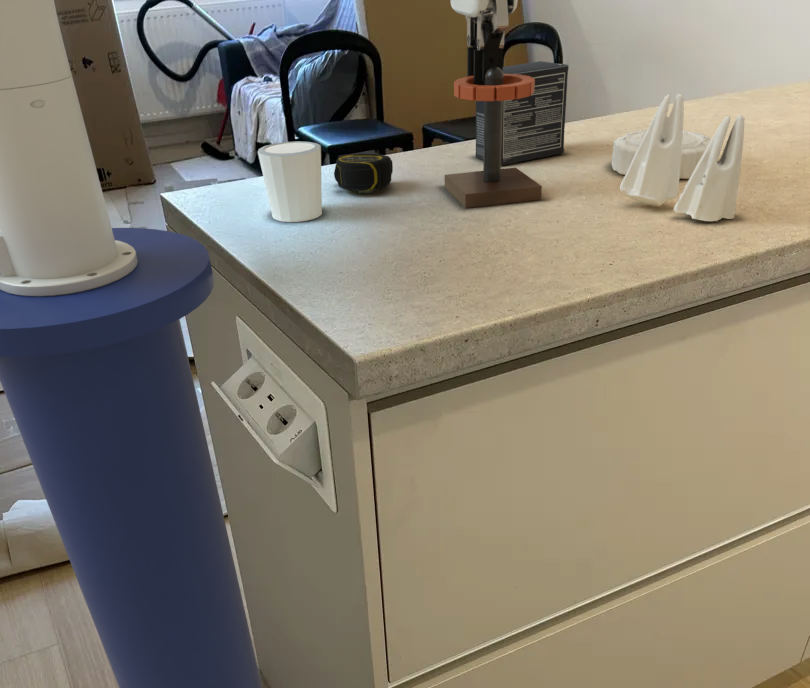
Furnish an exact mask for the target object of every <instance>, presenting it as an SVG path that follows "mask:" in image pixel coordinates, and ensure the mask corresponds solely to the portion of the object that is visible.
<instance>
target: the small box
mask: <svg viewBox="0 0 810 688" xmlns="http://www.w3.org/2000/svg"><path fill="white" fill-rule="evenodd" d="M569 69H570V68H569V64H565V63H558V62H556V63H555V62H550V61H543V60H542V61H541V60H540V61H539V60H538V61H534V62H526V63H519V64H514V65H507V66H503V74H511V75H512V74H519V75H527V76H530V77H532V78H534V79H535V88H534V93H533V94H532V95H531V96H529V97H524V98H520V99H514V100H504V101H503V112H502V144H501V167H502V166H507V165H512V164H516V163H517V164H518V163H522V162H526V161H532V160H536V159H542V158H545V157H552V156H556V155H562V154H564V152H565V127H566V109H567V94H568V93H567V92H568V78H569ZM484 109H485V101H476V100H475V158H477V159H480V160H481V161H484Z"/></svg>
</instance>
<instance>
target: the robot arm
mask: <svg viewBox="0 0 810 688" xmlns="http://www.w3.org/2000/svg"><path fill="white" fill-rule="evenodd" d="M518 1H519V0H449V2H450V6H451V8H452V10H453V11H454V12H455V13H457V14H459V15H463V16H464V17H465V20H466V45H467V48H466V50H467V51H466V52H467V53H466V55H467V57H466V64H467V66H466V77H468V76H474V80H473V84H474V85H485V75H486V72H487V71H488V69H490V68H491V67H498V68H500V69H501V70H502V72H503V67H504V47H505V31H506V30H507V29H508V27H509V21H510V20H509V16H510V15H512V14H513V13H514V12H515V10H516V9H517V7H518ZM87 131H88V130H87V128H86V124H85V120H84V116H83V113H82V108H81V105H80V100H79V97H78V93H77V89H76V86H75V82H74V78H73V74H72V70H71V67H70V62H69V59H68V55H67V51H66V47H65V44H64V39H63V34H62V32H61V26H60V22H59V17H58V13H57V9H56V3H55V0H0V290H2V291H5V292H7V293H10V294H14V295H19V296H29V297H45V296H59V295H67V294H73V293H78V292H83V291H88V290H92V289H96V288H99V287H102V286H105V285H108V284H110V283H113V282H115V281H118V280H120V279H121V278H123V277H125V276H127V275H128V274H129V273H131V272H132V271H133V270H134V269H135V267H136V266H137V263H138V260H137V255H136V251H135V249H134V248H133V247H132V246H130V245H129V244H127V243H124V242H121V241H117V240H115V239H114V235H113V231H112V228H113V227H112V224H111V221H110V217H109V216H110V215H109V213H108V208H107V205H106V201H105V196H104V193H103V189H102V185H101V181H100V179H99V173H98V170H97V166H96V163H95V162H96V161H95V158H94V155H93V154H94V153H93V150H92V146H91V143H90V139H89V135H88V132H87Z"/></svg>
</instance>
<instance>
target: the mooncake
mask: <svg viewBox="0 0 810 688" xmlns="http://www.w3.org/2000/svg"><path fill="white" fill-rule="evenodd" d="M646 131H647V129H641V130H640V129H638V130H635V131H632V132H626V134H624V135H621V136H618V137H617V138H616V139H615V140H614V141H613V147H612V156H611V162H610V163H611V168H612V170H613V171H614V172H617V173H618V174H619V175H623V176H625V175H626V173H627V170H628V168H629V166H630V164H631V162H632V160H633V158H634V156H635V154H636V151H637V149H638V147H639V145H640V143H641V141H642V139H643V137H644V135H645V133H646ZM711 139H712V137H710V136H708V135H704V133H701V132H693V131H688V130H684V129H683V138H682V153H681V166H680V176H679V180H689V179H690V177H691V175H692V173H693V171H694V170H695V168H696V166H697V164H698V162H699V161H700V159H701V157H702V155H703V153H704V152H705V150H706V148H707V146H708V144H709V143H710V141H711Z"/></svg>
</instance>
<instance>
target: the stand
mask: <svg viewBox="0 0 810 688" xmlns="http://www.w3.org/2000/svg"><path fill="white" fill-rule="evenodd" d="M503 80H504V75H503V72H502V70H501V69H500V68H498V67H491V68H490V69H488V71H487V72H486V75H485V85H503ZM502 112H503V101H496V100H494V101H485V109H484V160H483V162H482V163H483V165H482V167H483V170H478V171H477V170H476V171H467V172H459V173H449V174H448V173H447V174H444V189H445V190H446V191H447V192H448V193H450V195H451V196H452V197H453V198H455V199H456V200H457V201H458V202H459V203H460V204H461V205H462V207H464V209H469V208H479V207H480V208H481V207H489V206H497V205H507V204H514V203H515V204H516V203H524V202H525V203H526V202H534V201H535V202H536V201H541V200H542V190H543V187H542V185H541V184H540V183H538V182H537V181H536V180H534V179H532V178H531V177H530V176H528V175H527V174H525V172H523V171H522V170H520V169H518V168H517V167H508V168H507V167H506V168H502V166H501V144H502Z"/></svg>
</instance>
